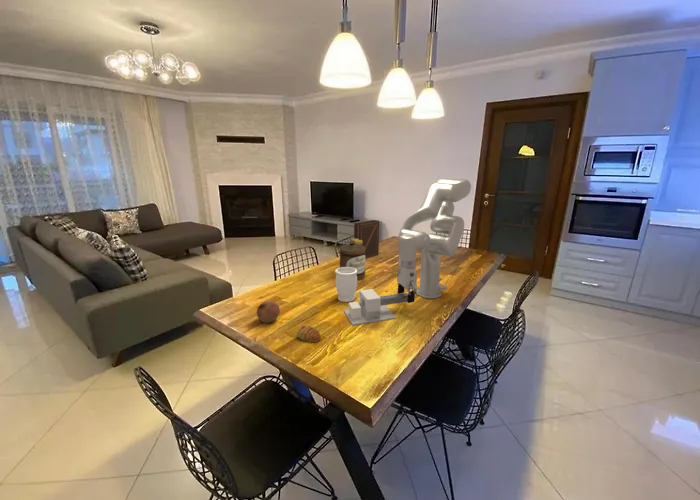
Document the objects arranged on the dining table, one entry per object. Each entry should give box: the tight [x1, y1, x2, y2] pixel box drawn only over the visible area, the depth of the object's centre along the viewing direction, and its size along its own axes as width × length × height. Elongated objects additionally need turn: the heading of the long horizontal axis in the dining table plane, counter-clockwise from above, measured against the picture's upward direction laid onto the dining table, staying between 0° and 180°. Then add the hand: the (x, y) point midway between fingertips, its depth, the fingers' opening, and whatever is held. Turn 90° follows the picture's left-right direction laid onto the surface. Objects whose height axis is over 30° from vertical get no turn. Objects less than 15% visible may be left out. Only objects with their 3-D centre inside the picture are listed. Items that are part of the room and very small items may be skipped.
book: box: [351, 219, 380, 260], centre depth 214 cm, size 22×8×25 cm, turn 130°
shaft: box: [379, 292, 408, 306], centre depth 136 cm, size 20×3×3 cm, turn 107°
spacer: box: [348, 301, 361, 319], centre depth 133 cm, size 5×6×4 cm
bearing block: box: [343, 288, 397, 326], centre depth 134 cm, size 20×13×10 cm, turn 107°
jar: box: [335, 267, 358, 303], centre depth 150 cm, size 11×10×15 cm
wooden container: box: [339, 239, 366, 282], centre depth 178 cm, size 15×15×22 cm
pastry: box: [296, 325, 322, 343], centre depth 118 cm, size 9×7×4 cm
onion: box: [256, 300, 281, 324], centre depth 130 cm, size 10×9×10 cm
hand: (405, 297), depth 140 cm, fingers open, 9 cm apart
